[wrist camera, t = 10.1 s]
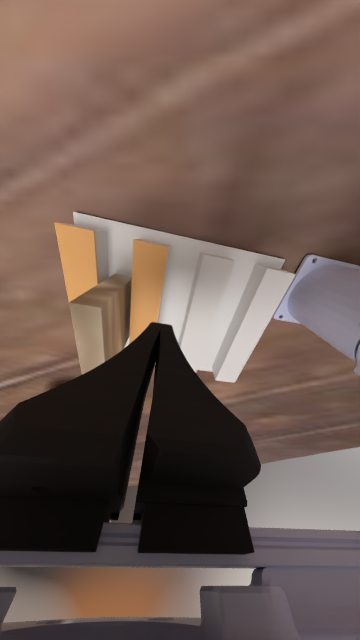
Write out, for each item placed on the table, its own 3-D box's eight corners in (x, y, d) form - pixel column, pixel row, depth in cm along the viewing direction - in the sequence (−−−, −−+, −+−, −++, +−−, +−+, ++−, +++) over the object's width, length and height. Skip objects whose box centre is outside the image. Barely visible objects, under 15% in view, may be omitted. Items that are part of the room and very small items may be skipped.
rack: (282, 258, 17) (303, 263, 14) (226, 370, 25) (232, 388, 23) (76, 212, 14) (51, 207, 12) (93, 353, 23) (81, 369, 20)
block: (132, 277, 17) (100, 307, 10) (130, 334, 21) (106, 385, 14) (114, 274, 17) (68, 302, 10) (115, 332, 21) (83, 382, 14)
